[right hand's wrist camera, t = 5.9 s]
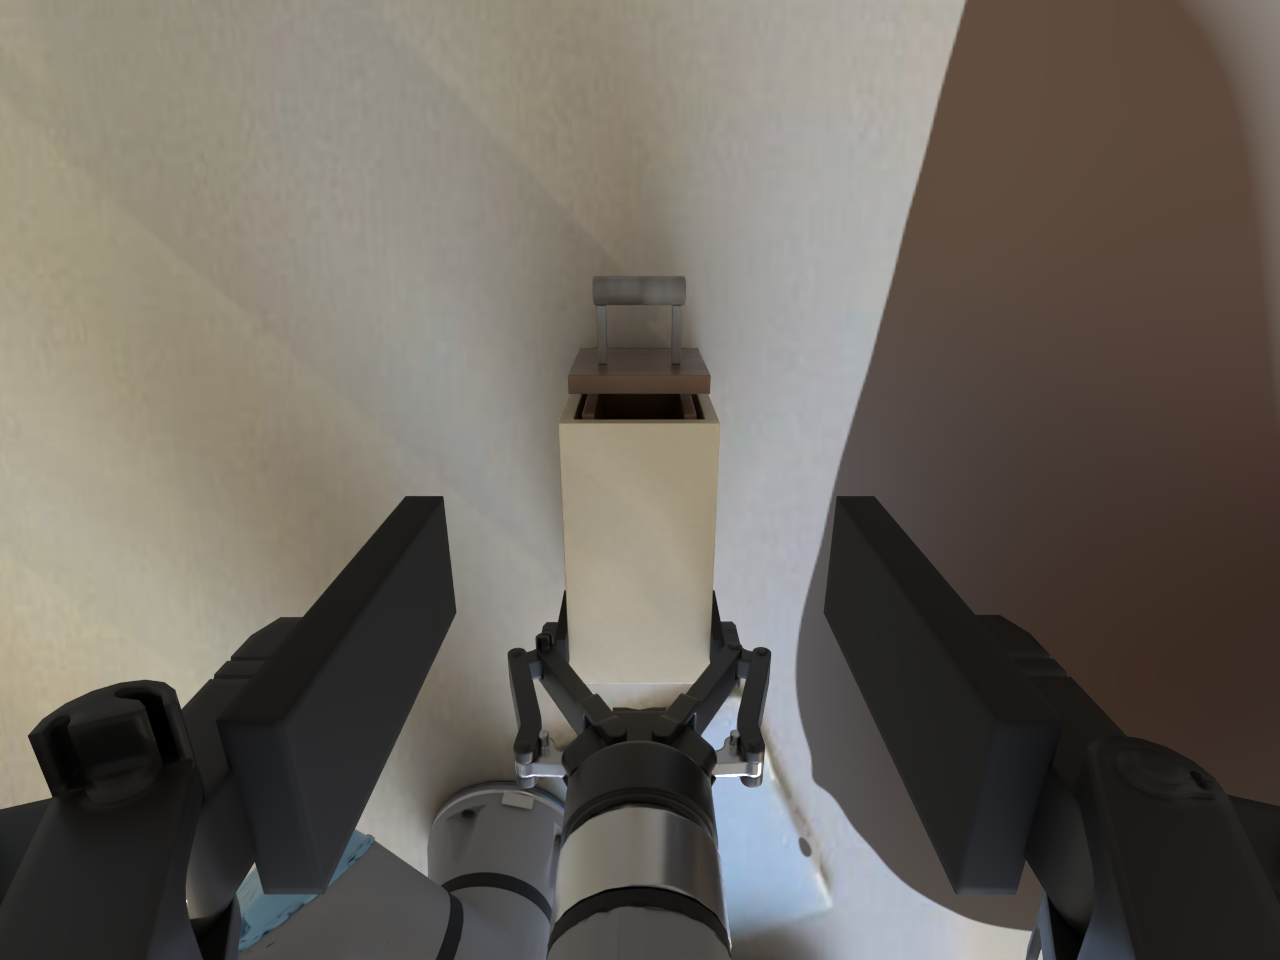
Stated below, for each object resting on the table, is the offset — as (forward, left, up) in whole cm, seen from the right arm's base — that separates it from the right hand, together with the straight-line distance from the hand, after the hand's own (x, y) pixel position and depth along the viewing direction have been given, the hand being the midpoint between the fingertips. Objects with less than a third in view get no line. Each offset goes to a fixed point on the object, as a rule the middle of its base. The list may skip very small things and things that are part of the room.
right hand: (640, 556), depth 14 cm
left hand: (+20, +6, -33) cm, 39 cm away
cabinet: (+14, +4, -39) cm, 42 cm away
